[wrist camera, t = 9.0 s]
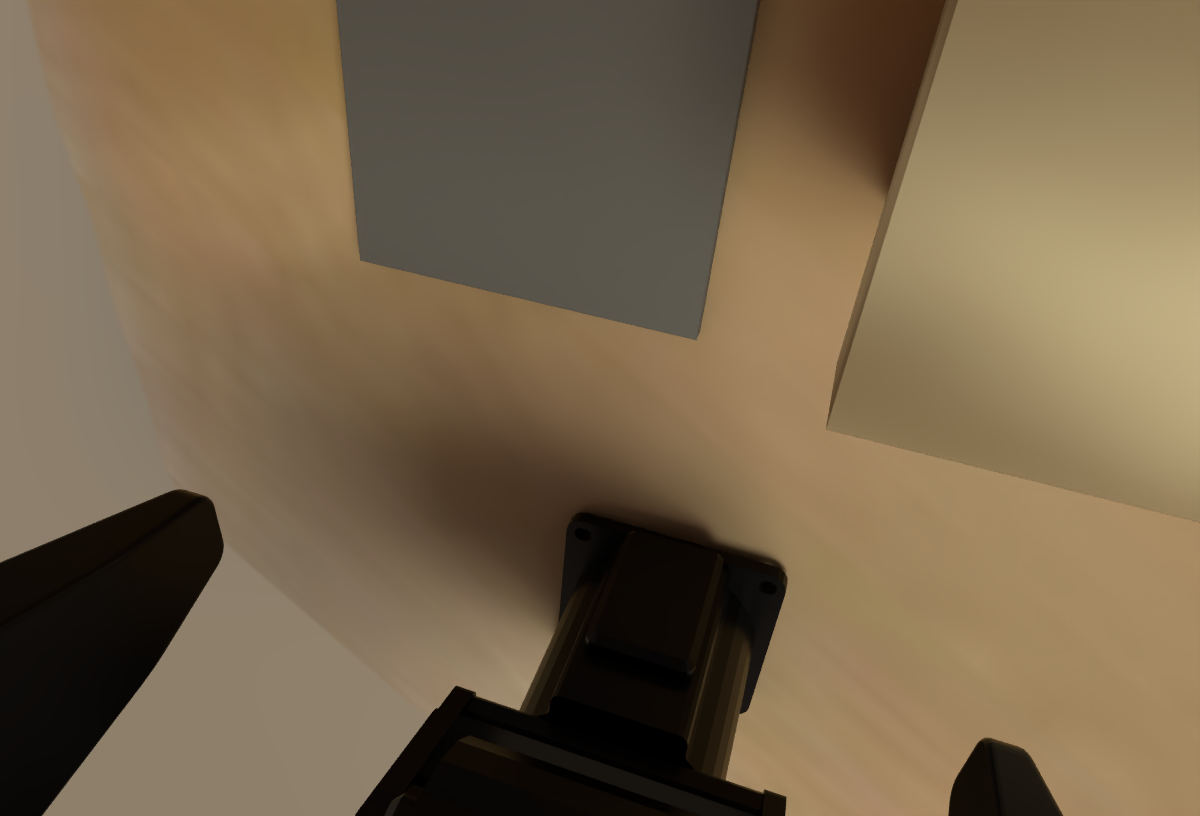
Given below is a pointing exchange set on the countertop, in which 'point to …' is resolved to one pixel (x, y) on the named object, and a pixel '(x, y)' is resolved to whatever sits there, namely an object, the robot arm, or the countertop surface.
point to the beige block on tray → (1043, 255)
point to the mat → (548, 145)
